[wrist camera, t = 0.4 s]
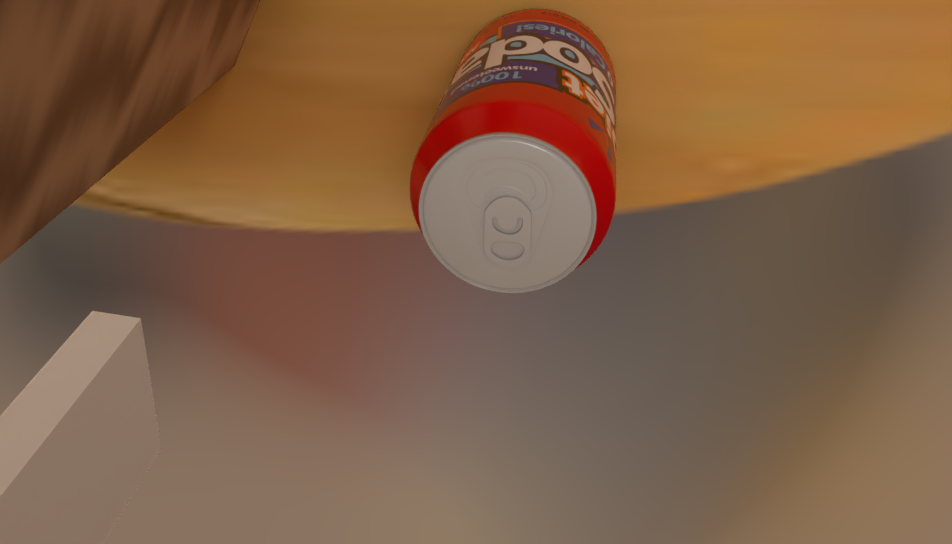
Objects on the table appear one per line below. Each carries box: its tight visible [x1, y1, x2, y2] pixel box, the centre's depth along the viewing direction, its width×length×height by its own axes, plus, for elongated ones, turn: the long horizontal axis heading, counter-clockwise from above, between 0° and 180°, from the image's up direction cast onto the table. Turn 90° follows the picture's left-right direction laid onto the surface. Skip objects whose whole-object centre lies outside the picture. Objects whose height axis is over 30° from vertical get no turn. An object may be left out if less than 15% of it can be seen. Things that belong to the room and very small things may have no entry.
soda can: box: [410, 9, 616, 293], centre depth 37 cm, size 8×8×15 cm
